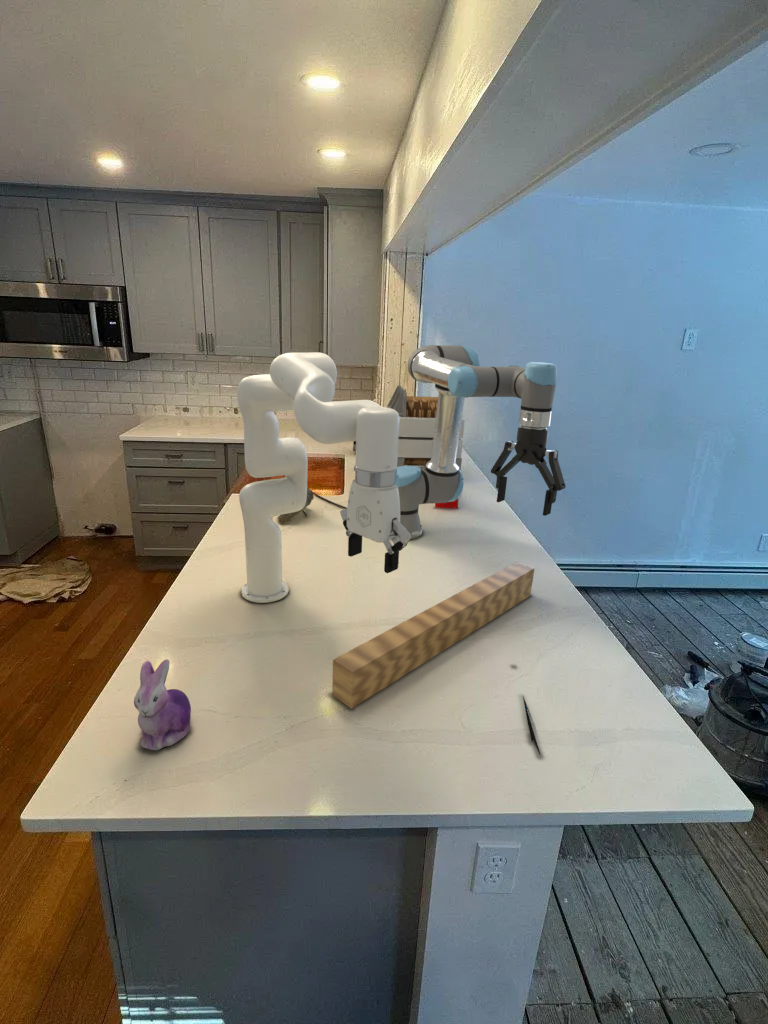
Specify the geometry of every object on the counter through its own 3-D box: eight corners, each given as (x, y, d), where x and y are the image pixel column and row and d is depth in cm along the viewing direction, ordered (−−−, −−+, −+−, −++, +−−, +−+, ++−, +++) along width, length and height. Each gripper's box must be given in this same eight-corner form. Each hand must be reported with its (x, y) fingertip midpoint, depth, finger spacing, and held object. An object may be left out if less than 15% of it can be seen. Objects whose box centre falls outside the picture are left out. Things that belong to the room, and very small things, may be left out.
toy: (452, 466, 252) (464, 476, 223) (451, 496, 255) (462, 509, 226) (425, 465, 252) (433, 475, 222) (424, 495, 254) (431, 508, 225)
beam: (513, 588, 164) (516, 561, 161) (530, 595, 160) (534, 568, 157) (332, 695, 116) (332, 659, 113) (351, 708, 112) (352, 672, 109)
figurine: (141, 761, 97) (132, 687, 92) (135, 723, 105) (126, 654, 100) (198, 744, 101) (192, 673, 96) (188, 709, 110) (182, 642, 104)
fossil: (282, 494, 222) (311, 473, 217) (298, 512, 225) (327, 492, 220) (267, 519, 202) (298, 497, 198) (285, 538, 205) (316, 517, 200)
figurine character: (364, 457, 303) (365, 448, 317) (365, 444, 300) (365, 435, 313) (352, 457, 303) (353, 447, 316) (352, 444, 300) (353, 434, 313)
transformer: (382, 463, 289) (386, 382, 275) (445, 464, 293) (451, 384, 279) (390, 482, 257) (394, 392, 243) (460, 483, 261) (468, 394, 247)
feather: (514, 670, 128) (520, 664, 128) (540, 759, 101) (547, 752, 101) (508, 666, 128) (514, 660, 127) (532, 755, 101) (539, 747, 101)
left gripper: (328, 469, 106) (327, 553, 111) (397, 492, 95) (392, 584, 100) (357, 463, 111) (355, 543, 117) (425, 483, 100) (419, 571, 106)
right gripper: (483, 420, 146) (475, 498, 153) (573, 437, 130) (560, 523, 137) (498, 417, 151) (490, 493, 159) (588, 433, 135) (574, 516, 143)
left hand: (372, 562), depth 108 cm, fingers open, 9 cm apart
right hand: (522, 507), depth 148 cm, fingers open, 13 cm apart
